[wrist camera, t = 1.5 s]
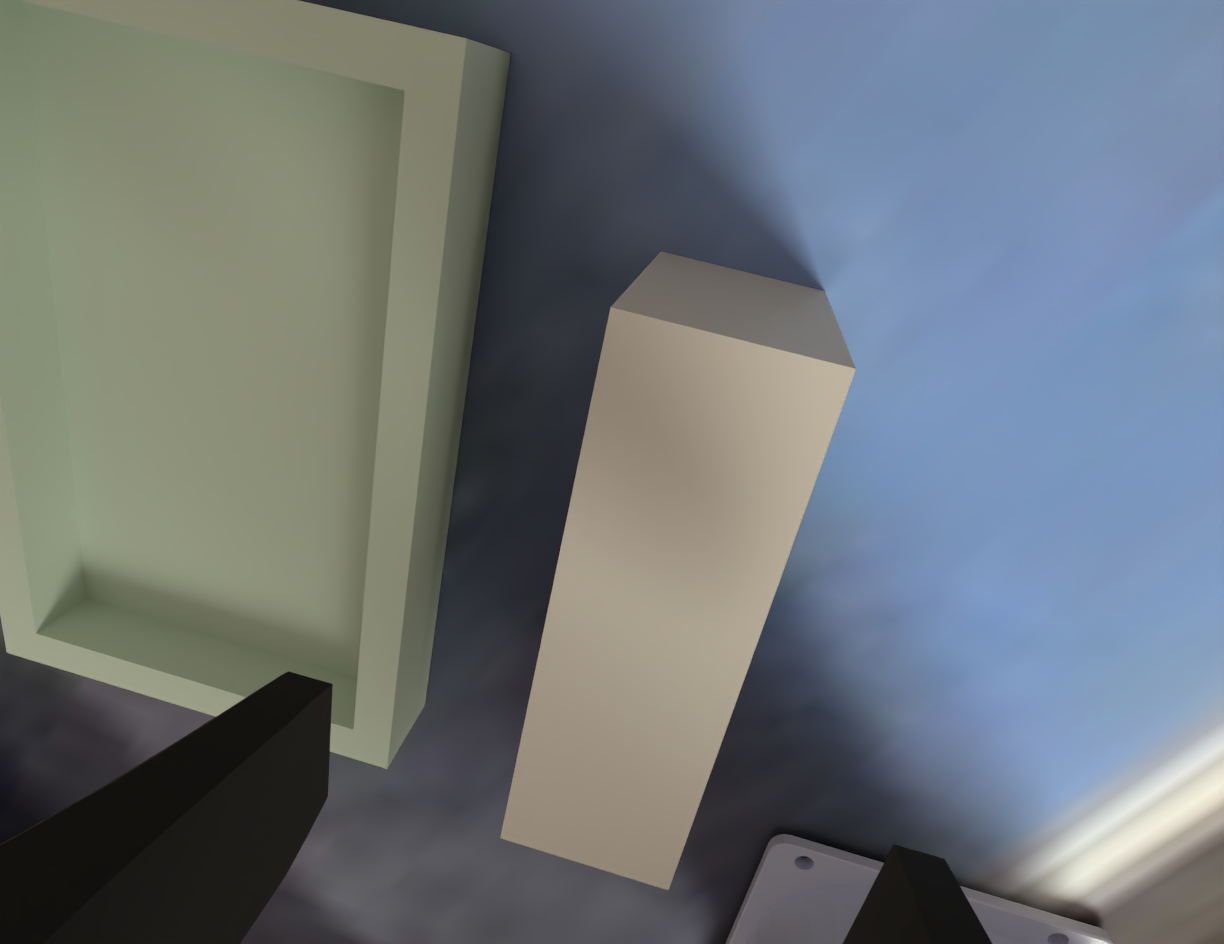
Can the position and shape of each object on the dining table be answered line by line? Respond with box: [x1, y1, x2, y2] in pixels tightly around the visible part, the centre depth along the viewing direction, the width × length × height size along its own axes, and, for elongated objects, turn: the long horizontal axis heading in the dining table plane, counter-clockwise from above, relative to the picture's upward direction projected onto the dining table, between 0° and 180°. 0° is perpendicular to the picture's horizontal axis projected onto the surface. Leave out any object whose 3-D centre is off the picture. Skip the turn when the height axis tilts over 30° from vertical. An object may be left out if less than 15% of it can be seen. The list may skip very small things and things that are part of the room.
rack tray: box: [0, 0, 511, 769], centre depth 18 cm, size 11×17×2 cm, turn 168°
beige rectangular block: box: [501, 251, 856, 890], centre depth 16 cm, size 4×11×6 cm, turn 168°
